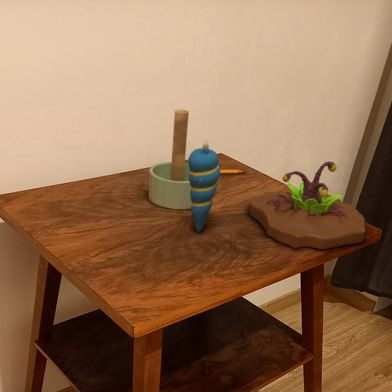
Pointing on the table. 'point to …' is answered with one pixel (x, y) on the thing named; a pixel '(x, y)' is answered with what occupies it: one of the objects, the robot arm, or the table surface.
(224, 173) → the pencil
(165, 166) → the bowl
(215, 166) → the ornament
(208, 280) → the table surface
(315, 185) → the plant
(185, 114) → the stick
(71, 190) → the table surface
